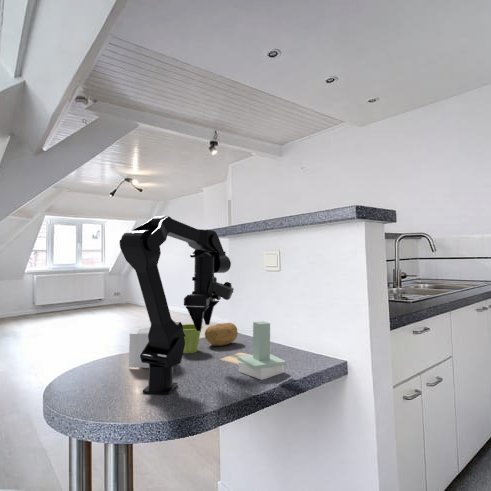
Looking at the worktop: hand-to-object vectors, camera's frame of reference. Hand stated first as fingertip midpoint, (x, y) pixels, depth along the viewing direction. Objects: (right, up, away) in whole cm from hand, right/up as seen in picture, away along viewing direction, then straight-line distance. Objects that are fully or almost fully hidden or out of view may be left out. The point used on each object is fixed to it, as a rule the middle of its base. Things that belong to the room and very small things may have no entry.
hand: (203, 327), depth 96 cm
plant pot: (-7, -13, +19) cm, 24 cm away
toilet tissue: (-16, -12, +5) cm, 20 cm away
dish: (+17, -12, -3) cm, 21 cm away
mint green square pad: (+11, -13, +9) cm, 20 cm away
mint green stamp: (+17, -9, -3) cm, 19 cm away
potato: (+3, -14, +28) cm, 32 cm away
